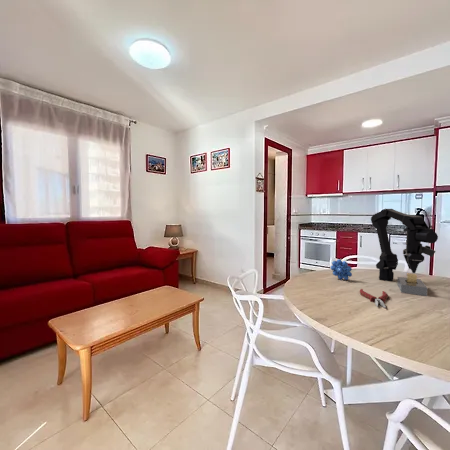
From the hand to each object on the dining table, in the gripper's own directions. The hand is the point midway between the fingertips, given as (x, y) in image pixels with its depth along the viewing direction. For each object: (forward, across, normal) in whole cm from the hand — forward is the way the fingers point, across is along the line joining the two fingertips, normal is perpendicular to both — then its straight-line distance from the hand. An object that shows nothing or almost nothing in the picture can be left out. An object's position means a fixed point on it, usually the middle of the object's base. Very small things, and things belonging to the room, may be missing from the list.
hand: (412, 271), depth 124 cm
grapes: (+10, +1, +33) cm, 35 cm away
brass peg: (+10, 0, 0) cm, 10 cm away
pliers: (+10, -25, +18) cm, 32 cm away
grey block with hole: (+10, 0, 0) cm, 10 cm away
